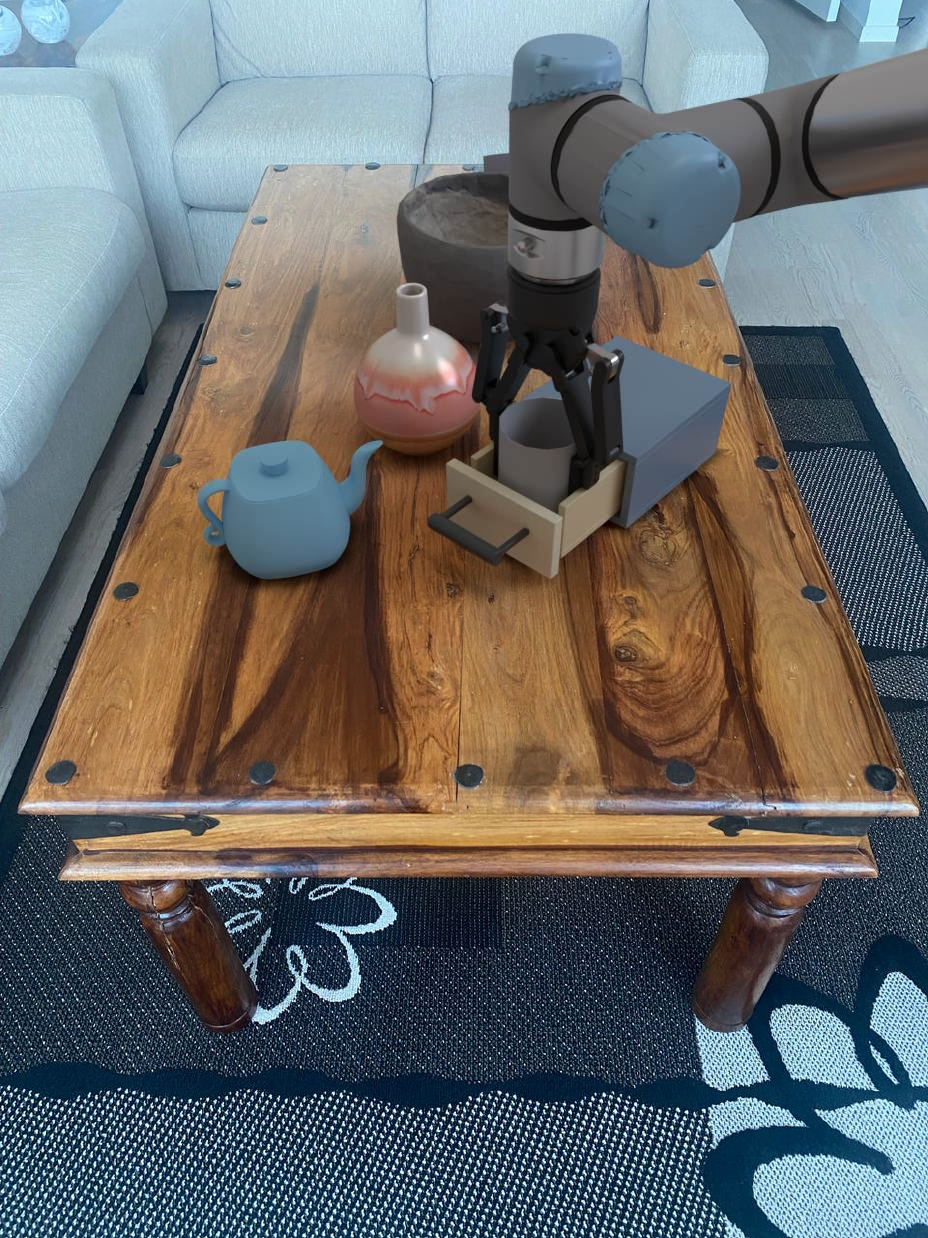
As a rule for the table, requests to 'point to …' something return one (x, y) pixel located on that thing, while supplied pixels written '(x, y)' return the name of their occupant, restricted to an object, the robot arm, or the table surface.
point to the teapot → (285, 508)
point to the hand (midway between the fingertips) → (540, 488)
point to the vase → (415, 382)
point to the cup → (536, 450)
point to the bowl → (457, 247)
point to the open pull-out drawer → (522, 514)
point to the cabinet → (660, 423)
